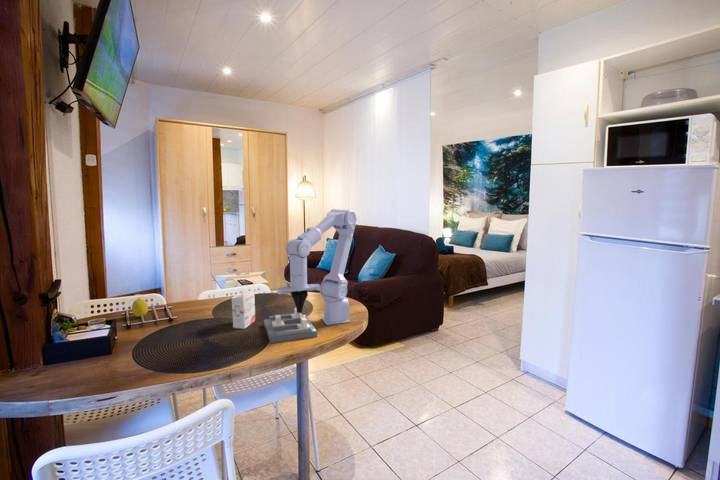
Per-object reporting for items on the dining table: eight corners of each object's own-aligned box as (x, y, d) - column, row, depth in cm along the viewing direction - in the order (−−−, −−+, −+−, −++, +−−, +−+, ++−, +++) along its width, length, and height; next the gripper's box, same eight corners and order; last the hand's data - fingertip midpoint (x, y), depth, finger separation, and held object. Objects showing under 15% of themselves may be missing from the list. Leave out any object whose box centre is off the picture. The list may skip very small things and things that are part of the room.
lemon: (151, 316, 141) (150, 297, 140) (136, 321, 137) (135, 301, 135) (144, 314, 144) (143, 295, 143) (129, 318, 139) (128, 298, 138)
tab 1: (283, 323, 129) (282, 313, 129) (284, 327, 126) (284, 317, 125) (271, 325, 128) (271, 315, 127) (273, 329, 124) (273, 318, 124)
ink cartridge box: (244, 320, 139) (242, 283, 137) (255, 321, 138) (254, 284, 136) (232, 328, 130) (230, 289, 128) (244, 329, 129) (243, 290, 127)
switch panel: (305, 319, 140) (305, 311, 139) (317, 336, 123) (317, 327, 123) (264, 324, 134) (263, 316, 133) (270, 343, 117) (270, 334, 117)
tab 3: (308, 326, 127) (307, 316, 127) (310, 330, 123) (310, 319, 123) (297, 327, 126) (296, 317, 125) (299, 331, 122) (299, 321, 121)
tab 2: (301, 316, 137) (301, 306, 137) (303, 319, 134) (303, 310, 133) (291, 317, 136) (291, 308, 135) (293, 321, 132) (293, 311, 132)
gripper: (315, 270, 128) (316, 306, 130) (275, 273, 122) (276, 311, 124) (321, 274, 121) (321, 312, 123) (279, 277, 116) (280, 317, 118)
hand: (299, 312), depth 123 cm, fingers closed
